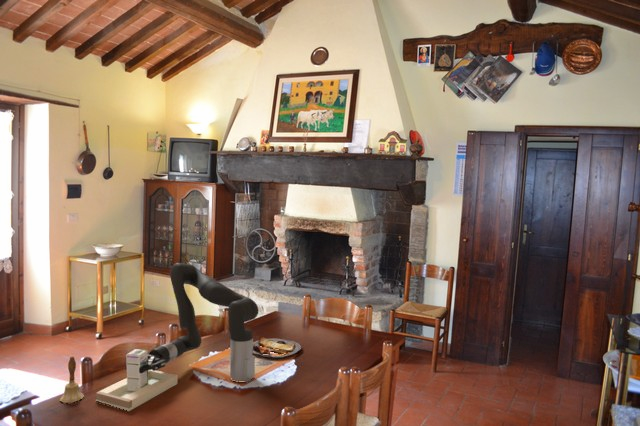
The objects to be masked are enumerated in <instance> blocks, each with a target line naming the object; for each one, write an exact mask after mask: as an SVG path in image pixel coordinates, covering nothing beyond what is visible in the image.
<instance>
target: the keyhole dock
mask: <svg viewBox="0 0 640 426" xmlns="http://www.w3.org/2000/svg"><path fill="white" fill-rule="evenodd" d="M176 385H178V375H177V374H174V373H169V372H165V371H160V370H155V371H152V369H151V370H150V371H148V385H146V386H144V387H142V388H141V389H139V390H137V391H129V390H127V377H126V378H124V379H122V380H120V381H117V382H115V383H114V384H111V385H109V386H107V387H105V388H102V389H101V390H99V391H97V392H95V402H96V401H99V402H102V403H106V404H109V405H111V406H110V407H112V406H114V407H113V408H116V407H117V408H116V409H119V408H120V410H123V409H124V411H126V410H127V412H130V411H132V410H134V409H135V408H137V407H139V406H141V405H142V404H144V403H146V402H148V401H150V400H152V399H153V398H155V397H157V396H158V395H160V394H162V393H164V392H165V391H167V390H169V389H171V388H172V387H174V386H176ZM109 405H108V406H109Z"/></svg>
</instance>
